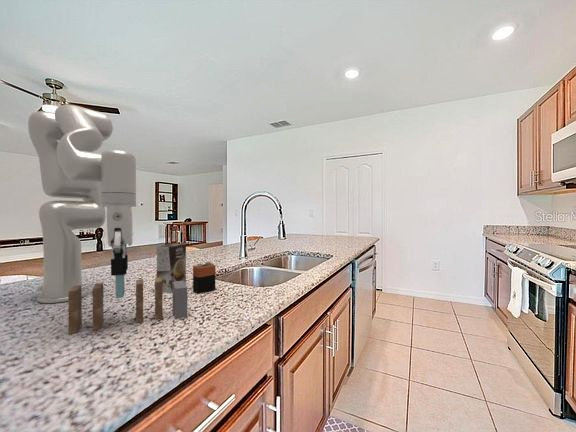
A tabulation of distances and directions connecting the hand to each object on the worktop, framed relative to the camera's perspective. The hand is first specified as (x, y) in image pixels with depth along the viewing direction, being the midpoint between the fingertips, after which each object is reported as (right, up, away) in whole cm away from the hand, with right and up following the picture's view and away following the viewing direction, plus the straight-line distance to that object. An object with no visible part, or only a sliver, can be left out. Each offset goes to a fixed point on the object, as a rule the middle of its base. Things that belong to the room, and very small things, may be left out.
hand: (119, 271), depth 69 cm
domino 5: (+8, -13, +5) cm, 16 cm away
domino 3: (0, -6, 0) cm, 6 cm away
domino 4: (+4, -13, +2) cm, 14 cm away
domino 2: (-4, -13, -2) cm, 14 cm away
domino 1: (-8, -13, -4) cm, 16 cm away
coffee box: (0, -13, +31) cm, 33 cm away
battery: (+13, -13, +28) cm, 34 cm away
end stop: (+12, -13, +7) cm, 19 cm away
